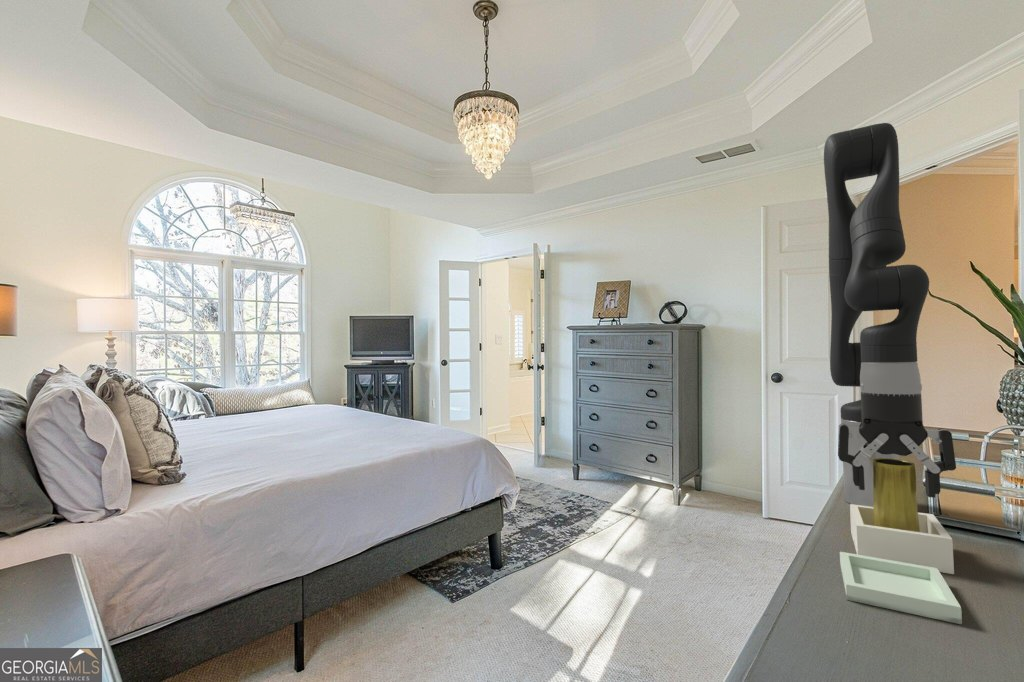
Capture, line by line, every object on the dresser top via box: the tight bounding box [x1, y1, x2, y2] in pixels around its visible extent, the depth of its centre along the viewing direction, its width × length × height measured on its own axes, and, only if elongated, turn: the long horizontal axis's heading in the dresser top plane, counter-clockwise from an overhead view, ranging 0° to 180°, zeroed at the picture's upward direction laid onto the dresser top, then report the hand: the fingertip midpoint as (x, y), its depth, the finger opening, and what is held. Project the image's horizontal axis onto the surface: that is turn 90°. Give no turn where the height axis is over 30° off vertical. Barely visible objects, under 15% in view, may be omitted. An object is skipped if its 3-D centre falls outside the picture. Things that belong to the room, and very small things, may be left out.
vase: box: [873, 458, 920, 532], centre depth 73 cm, size 6×6×14 cm
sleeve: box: [849, 503, 955, 575], centre depth 73 cm, size 11×11×5 cm
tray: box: [839, 551, 963, 625], centre depth 61 cm, size 11×11×2 cm
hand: (894, 492), depth 73 cm, fingers open, 8 cm apart
